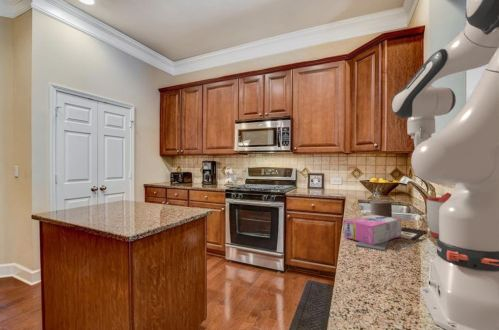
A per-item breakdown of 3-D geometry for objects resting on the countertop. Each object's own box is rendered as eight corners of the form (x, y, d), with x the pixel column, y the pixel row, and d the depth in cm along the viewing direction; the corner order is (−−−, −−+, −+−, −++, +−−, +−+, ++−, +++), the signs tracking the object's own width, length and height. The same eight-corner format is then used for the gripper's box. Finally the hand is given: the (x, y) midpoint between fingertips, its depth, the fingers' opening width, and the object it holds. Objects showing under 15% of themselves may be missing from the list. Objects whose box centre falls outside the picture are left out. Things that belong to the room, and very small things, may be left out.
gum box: (403, 235, 108) (374, 229, 120) (403, 218, 108) (374, 213, 120) (373, 245, 96) (343, 237, 107) (372, 225, 96) (343, 219, 107)
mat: (384, 251, 91) (384, 249, 91) (356, 246, 97) (356, 244, 97) (391, 235, 110) (391, 234, 110) (367, 232, 116) (367, 231, 116)
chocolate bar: (425, 231, 116) (414, 238, 104) (425, 232, 116) (414, 241, 104) (404, 227, 123) (391, 234, 111) (404, 229, 123) (391, 236, 111)
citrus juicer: (482, 240, 103) (482, 193, 103) (458, 245, 96) (457, 195, 96) (442, 230, 117) (441, 189, 117) (418, 235, 111) (418, 191, 111)
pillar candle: (396, 229, 120) (396, 199, 121) (381, 231, 117) (381, 200, 117) (380, 225, 130) (379, 197, 130) (366, 227, 126) (365, 198, 127)
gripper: (432, 124, 82) (433, 164, 82) (430, 131, 99) (430, 165, 99) (410, 126, 86) (411, 165, 86) (411, 133, 103) (412, 165, 102)
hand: (421, 165), depth 92 cm, fingers open, 8 cm apart
